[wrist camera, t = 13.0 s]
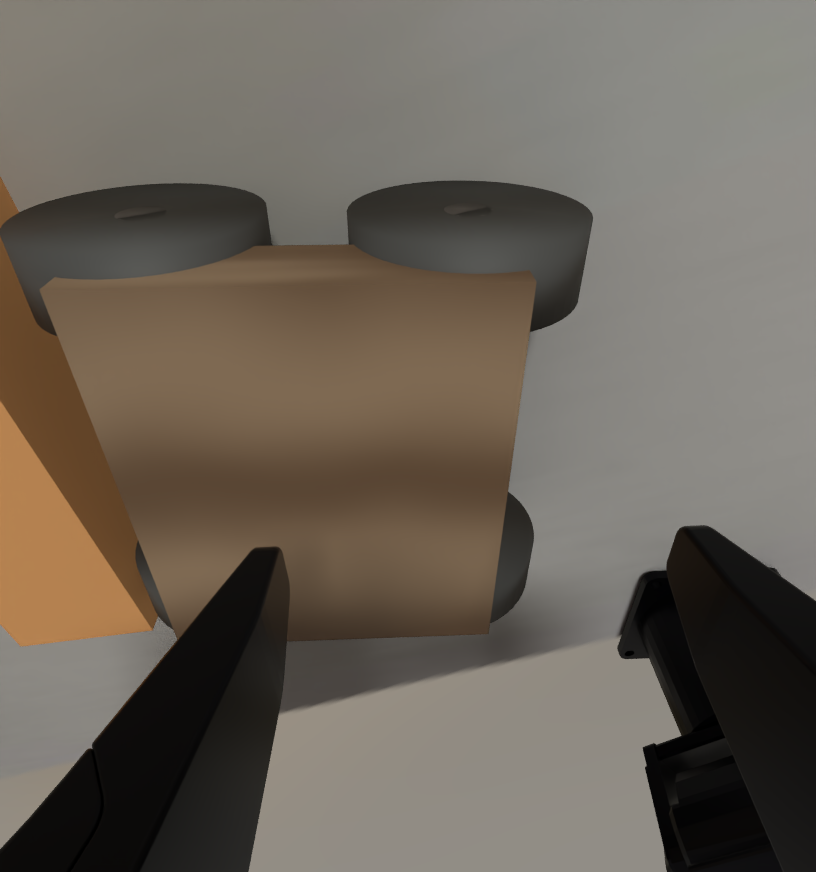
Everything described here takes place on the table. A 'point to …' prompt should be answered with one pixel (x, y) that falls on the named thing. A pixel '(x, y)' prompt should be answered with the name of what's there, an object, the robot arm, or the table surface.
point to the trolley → (312, 388)
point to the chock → (56, 493)
